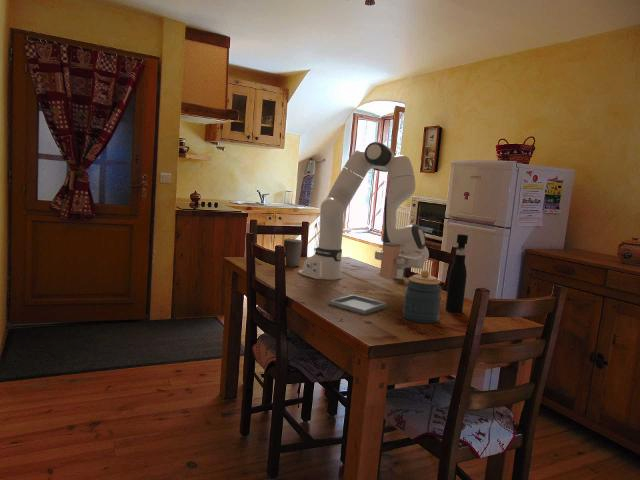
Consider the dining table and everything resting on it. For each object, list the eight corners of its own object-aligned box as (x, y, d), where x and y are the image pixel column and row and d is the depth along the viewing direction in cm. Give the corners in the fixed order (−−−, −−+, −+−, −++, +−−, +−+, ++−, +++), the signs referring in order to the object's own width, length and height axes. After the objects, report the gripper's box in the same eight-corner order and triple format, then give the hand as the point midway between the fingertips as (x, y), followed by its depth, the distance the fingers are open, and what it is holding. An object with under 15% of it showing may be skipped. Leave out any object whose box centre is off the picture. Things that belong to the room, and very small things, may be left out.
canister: (415, 324, 163) (421, 274, 161) (395, 313, 175) (400, 266, 172) (446, 322, 168) (451, 274, 166) (424, 312, 180) (429, 266, 178)
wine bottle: (459, 314, 181) (469, 236, 177) (443, 310, 184) (452, 234, 181) (464, 311, 187) (473, 235, 183) (448, 307, 190) (456, 233, 186)
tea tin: (379, 276, 192) (382, 243, 190) (385, 274, 196) (389, 242, 194) (390, 278, 189) (394, 245, 187) (396, 277, 193) (400, 244, 191)
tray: (328, 305, 179) (329, 300, 179) (352, 298, 192) (353, 294, 192) (364, 315, 170) (364, 310, 169) (386, 307, 182) (387, 303, 182)
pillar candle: (279, 265, 249) (282, 237, 247) (284, 262, 259) (286, 235, 257) (298, 268, 248) (300, 239, 246) (301, 264, 257) (304, 237, 255)
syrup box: (402, 277, 244) (405, 249, 242) (403, 280, 238) (406, 251, 236) (391, 276, 244) (394, 248, 242) (392, 278, 238) (394, 250, 237)
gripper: (385, 246, 208) (368, 248, 197) (428, 254, 195) (412, 256, 184) (383, 260, 208) (366, 262, 198) (426, 269, 196) (410, 272, 185)
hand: (388, 259), depth 191 cm, fingers closed on tea tin, 5 cm apart
